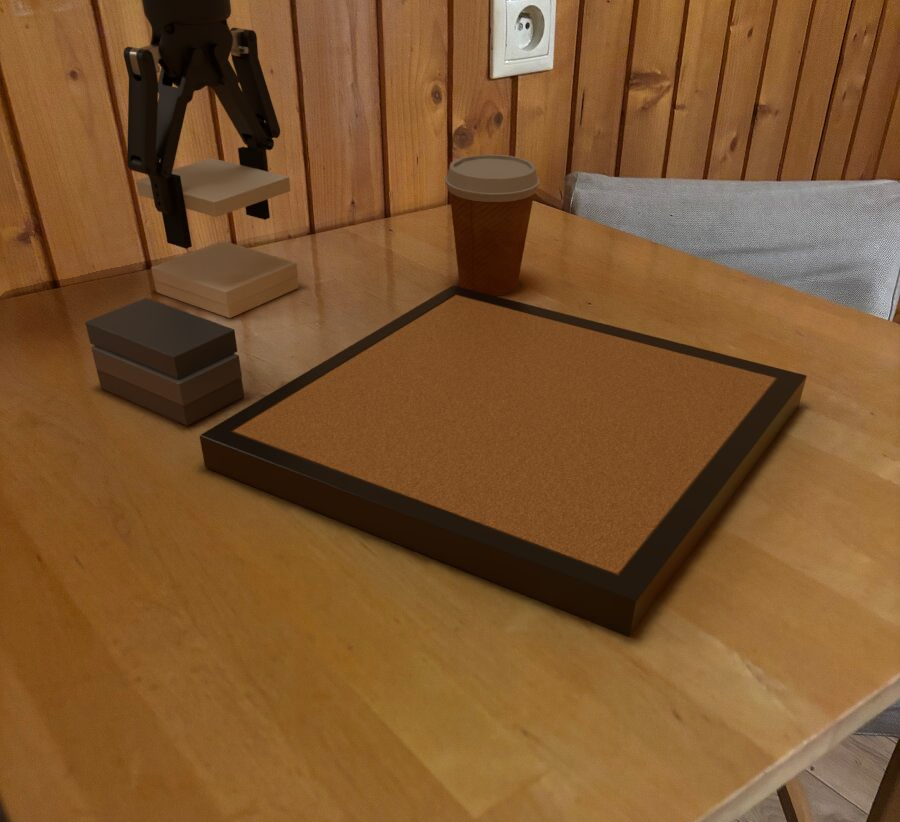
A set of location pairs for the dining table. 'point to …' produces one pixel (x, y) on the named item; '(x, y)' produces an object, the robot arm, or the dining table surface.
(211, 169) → the beige flat slab
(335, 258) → the dining table surface
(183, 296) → the beige square block
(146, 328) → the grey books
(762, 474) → the dining table surface
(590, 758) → the dining table surface
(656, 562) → the cork board
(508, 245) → the disposable coffee cup
